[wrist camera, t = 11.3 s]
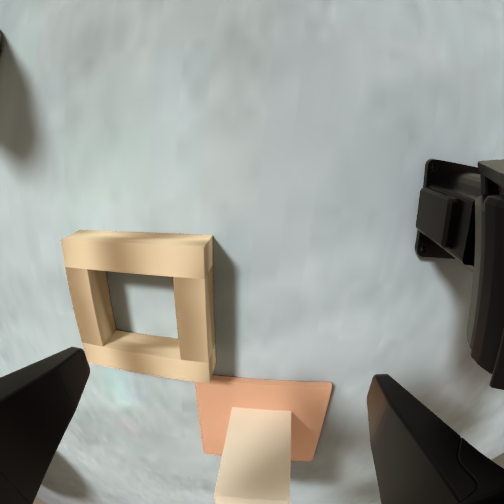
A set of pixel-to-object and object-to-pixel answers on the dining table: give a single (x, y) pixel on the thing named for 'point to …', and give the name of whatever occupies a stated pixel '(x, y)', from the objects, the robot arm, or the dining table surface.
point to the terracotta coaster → (266, 398)
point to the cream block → (255, 458)
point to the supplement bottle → (0, 42)
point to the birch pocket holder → (149, 263)
